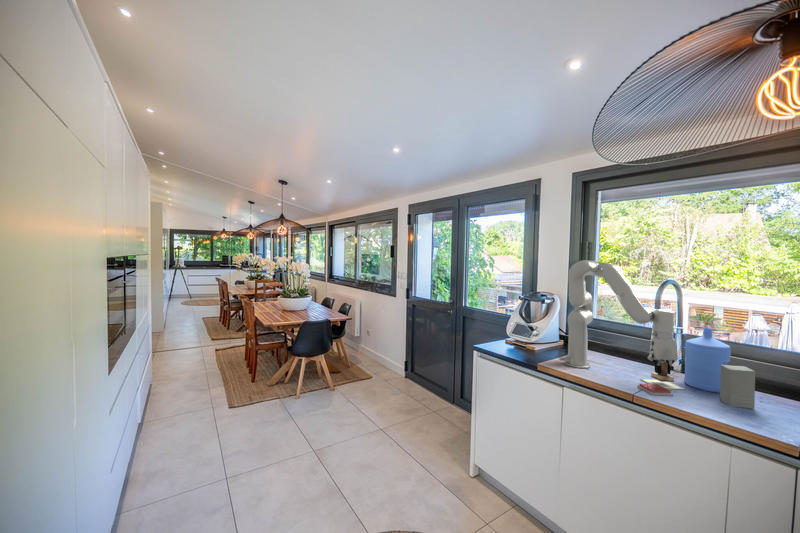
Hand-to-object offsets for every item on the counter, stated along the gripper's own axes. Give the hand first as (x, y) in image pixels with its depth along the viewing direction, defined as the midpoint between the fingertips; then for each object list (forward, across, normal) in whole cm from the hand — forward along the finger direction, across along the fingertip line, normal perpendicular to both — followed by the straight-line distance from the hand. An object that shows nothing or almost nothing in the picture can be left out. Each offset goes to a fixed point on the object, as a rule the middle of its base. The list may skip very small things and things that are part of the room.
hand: (662, 373), depth 152 cm
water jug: (+6, +20, -1) cm, 21 cm away
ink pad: (+6, -10, -9) cm, 15 cm away
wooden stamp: (+3, 0, 0) cm, 3 cm away
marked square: (+6, 0, 0) cm, 6 cm away
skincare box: (+6, +14, -21) cm, 26 cm away
